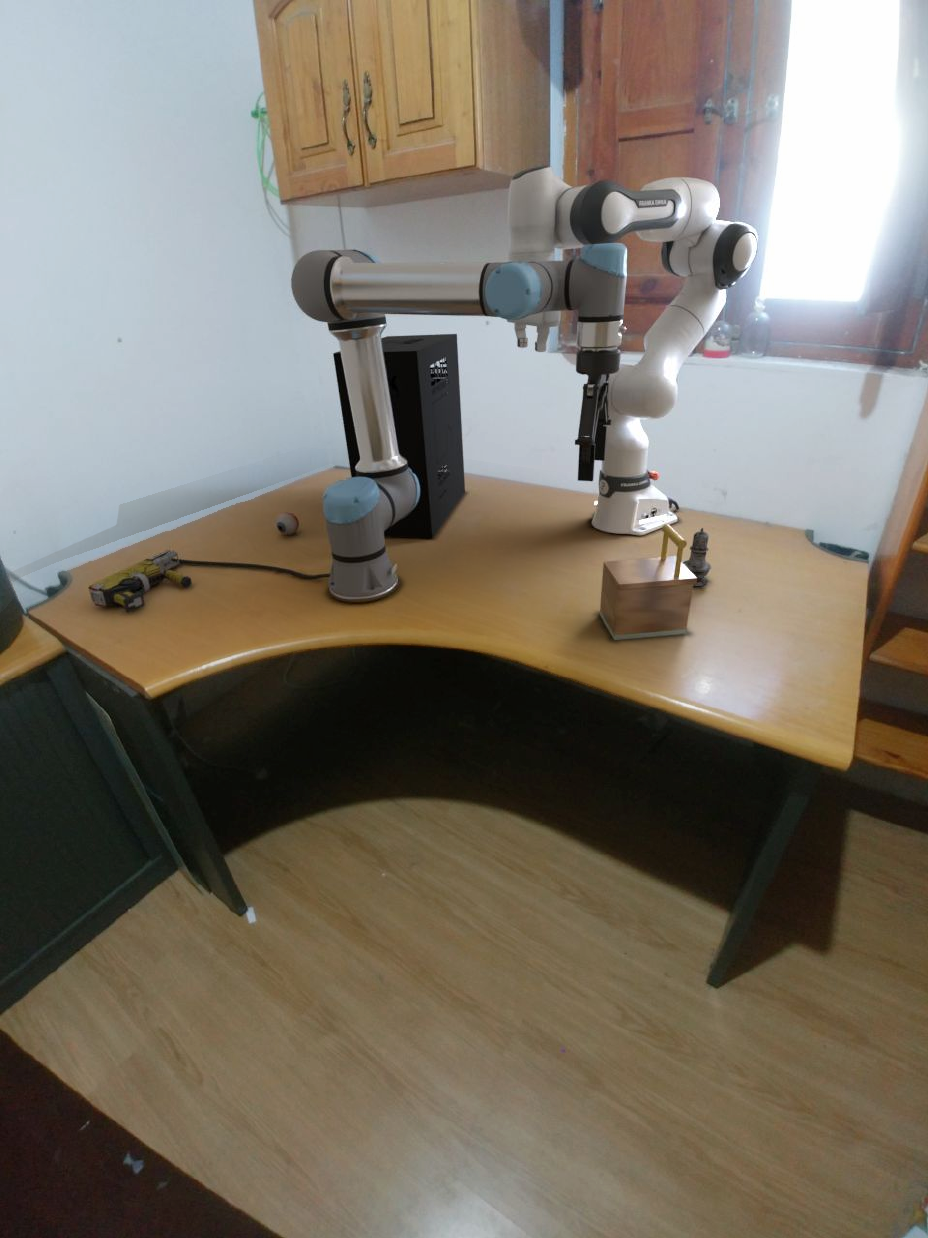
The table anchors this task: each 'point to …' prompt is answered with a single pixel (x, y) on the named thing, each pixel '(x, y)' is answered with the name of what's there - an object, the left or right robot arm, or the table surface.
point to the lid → (652, 567)
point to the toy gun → (136, 582)
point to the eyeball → (287, 523)
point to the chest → (644, 609)
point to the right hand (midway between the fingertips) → (531, 349)
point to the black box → (420, 425)
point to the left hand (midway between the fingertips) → (591, 469)
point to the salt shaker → (699, 558)
